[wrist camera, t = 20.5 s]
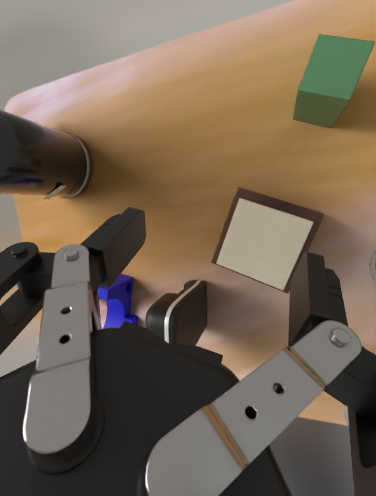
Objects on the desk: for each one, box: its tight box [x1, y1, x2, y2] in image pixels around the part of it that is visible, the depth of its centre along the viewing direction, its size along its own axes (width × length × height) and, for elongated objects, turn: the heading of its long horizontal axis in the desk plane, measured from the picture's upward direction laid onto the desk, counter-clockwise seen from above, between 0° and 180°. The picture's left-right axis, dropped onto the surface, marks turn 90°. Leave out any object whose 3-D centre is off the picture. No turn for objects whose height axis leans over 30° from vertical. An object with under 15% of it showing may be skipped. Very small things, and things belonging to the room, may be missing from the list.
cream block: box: [216, 198, 313, 290], centre depth 26 cm, size 7×7×3 cm
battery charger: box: [145, 280, 207, 346], centre depth 29 cm, size 7×4×11 cm, turn 2°
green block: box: [293, 34, 375, 128], centre depth 23 cm, size 4×4×8 cm
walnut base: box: [212, 187, 324, 293], centre depth 29 cm, size 9×9×4 cm
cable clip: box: [98, 274, 138, 329], centre depth 36 cm, size 12×4×6 cm, turn 172°
